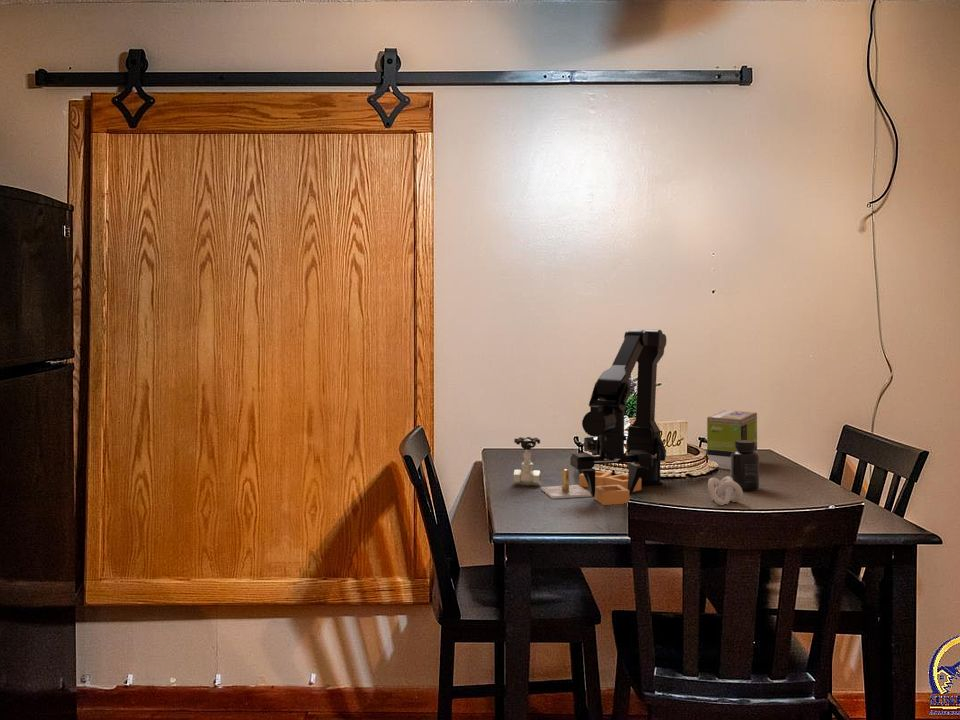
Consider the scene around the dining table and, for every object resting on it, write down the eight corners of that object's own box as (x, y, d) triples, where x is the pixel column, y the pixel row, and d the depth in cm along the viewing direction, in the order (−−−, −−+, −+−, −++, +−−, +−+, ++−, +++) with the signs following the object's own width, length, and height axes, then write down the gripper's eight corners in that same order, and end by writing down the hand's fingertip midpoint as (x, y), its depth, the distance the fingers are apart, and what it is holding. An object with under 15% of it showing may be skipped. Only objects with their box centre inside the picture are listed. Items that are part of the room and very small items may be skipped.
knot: (701, 498, 192) (702, 474, 192) (735, 498, 192) (736, 474, 192) (709, 506, 185) (710, 481, 184) (745, 506, 184) (745, 481, 184)
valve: (538, 488, 202) (538, 441, 201) (512, 487, 204) (512, 441, 203) (541, 483, 209) (541, 437, 208) (516, 482, 210) (516, 436, 209)
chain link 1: (587, 481, 210) (588, 470, 210) (611, 483, 207) (611, 472, 207) (579, 486, 205) (579, 474, 204) (603, 489, 202) (603, 477, 201)
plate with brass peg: (578, 487, 204) (578, 464, 203) (591, 496, 194) (592, 472, 194) (540, 489, 202) (540, 466, 201) (552, 498, 192) (552, 474, 192)
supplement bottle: (760, 486, 203) (761, 439, 202) (757, 492, 197) (758, 444, 196) (732, 484, 206) (733, 438, 205) (728, 490, 200) (729, 442, 199)
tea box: (723, 458, 239) (724, 409, 238) (757, 462, 234) (759, 411, 233) (705, 467, 227) (706, 415, 226) (741, 471, 221) (742, 418, 220)
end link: (618, 496, 194) (619, 484, 193) (629, 503, 187) (629, 490, 187) (593, 498, 192) (593, 486, 192) (603, 505, 186) (603, 492, 186)
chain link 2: (622, 485, 206) (622, 473, 205) (641, 490, 200) (641, 478, 200) (604, 489, 202) (604, 477, 201) (623, 493, 197) (623, 481, 196)
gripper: (635, 423, 198) (634, 485, 200) (563, 426, 194) (562, 490, 196) (654, 430, 188) (653, 496, 189) (578, 434, 184) (578, 501, 185)
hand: (611, 495), depth 190 cm, fingers open, 9 cm apart
